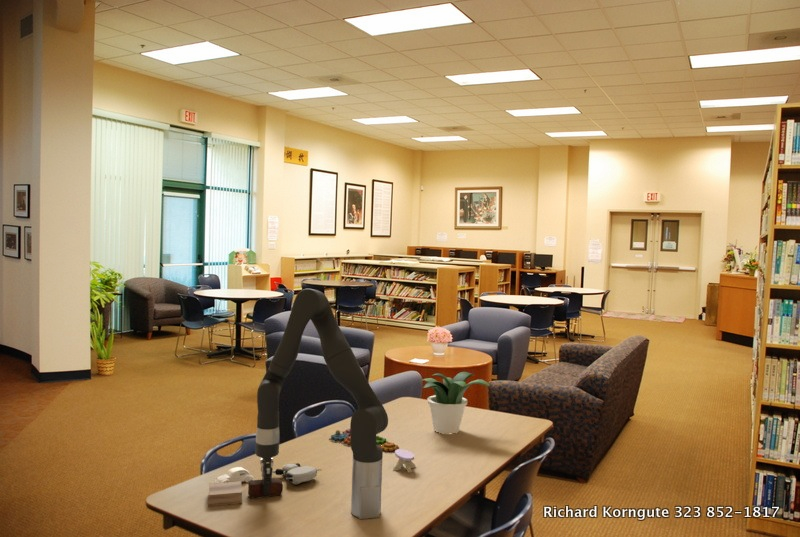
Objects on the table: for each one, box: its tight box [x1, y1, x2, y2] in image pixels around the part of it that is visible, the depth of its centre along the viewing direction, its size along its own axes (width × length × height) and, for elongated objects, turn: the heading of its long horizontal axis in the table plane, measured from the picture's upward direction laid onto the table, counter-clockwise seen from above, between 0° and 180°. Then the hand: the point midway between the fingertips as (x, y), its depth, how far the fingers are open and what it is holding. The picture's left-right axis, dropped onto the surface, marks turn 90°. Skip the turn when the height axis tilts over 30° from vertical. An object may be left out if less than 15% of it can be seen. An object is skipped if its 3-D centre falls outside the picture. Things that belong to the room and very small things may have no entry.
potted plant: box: [421, 371, 491, 435], centre depth 273 cm, size 32×35×26 cm
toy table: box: [392, 448, 416, 473], centre depth 226 cm, size 10×9×6 cm
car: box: [214, 466, 254, 483], centre depth 208 cm, size 12×6×5 cm, turn 130°
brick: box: [247, 477, 284, 499], centre depth 198 cm, size 11×4×5 cm, turn 113°
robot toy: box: [273, 462, 323, 485], centre depth 213 cm, size 12×4×15 cm
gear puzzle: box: [328, 428, 400, 452], centre depth 252 cm, size 31×16×4 cm, turn 54°
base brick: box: [207, 481, 243, 507], centre depth 194 cm, size 9×10×4 cm
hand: (265, 491), depth 198 cm, fingers closed on brick, 4 cm apart
